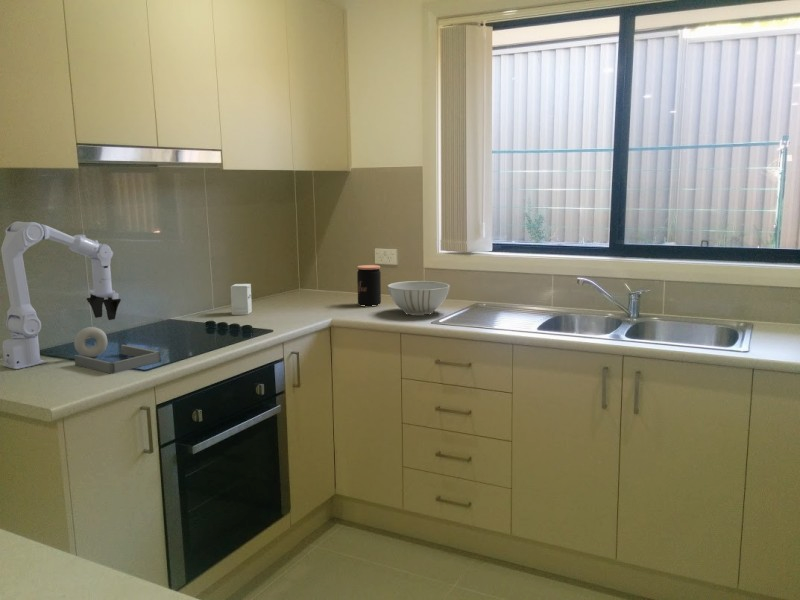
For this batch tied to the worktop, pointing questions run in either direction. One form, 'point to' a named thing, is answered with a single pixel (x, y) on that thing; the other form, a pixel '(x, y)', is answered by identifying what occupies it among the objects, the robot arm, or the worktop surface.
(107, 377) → the worktop surface
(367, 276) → the coffee jar
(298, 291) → the worktop surface
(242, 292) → the supplement box
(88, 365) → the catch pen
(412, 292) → the decorative bowl
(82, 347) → the donut
